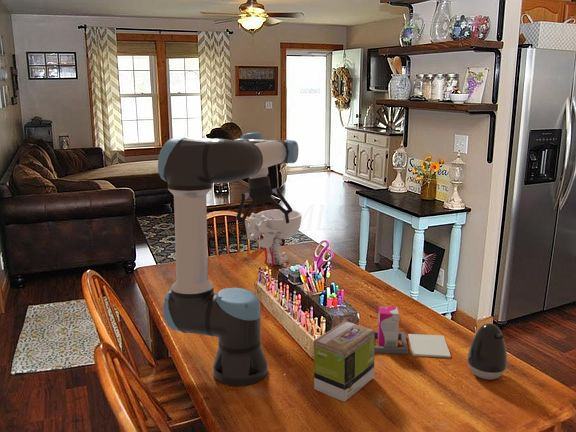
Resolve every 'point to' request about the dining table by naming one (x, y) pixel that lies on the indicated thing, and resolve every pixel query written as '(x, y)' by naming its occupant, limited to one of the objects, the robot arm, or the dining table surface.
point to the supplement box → (388, 326)
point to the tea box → (344, 360)
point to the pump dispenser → (488, 352)
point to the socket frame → (393, 349)
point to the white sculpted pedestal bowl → (273, 232)
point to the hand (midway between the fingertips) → (267, 235)
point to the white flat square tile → (428, 345)
